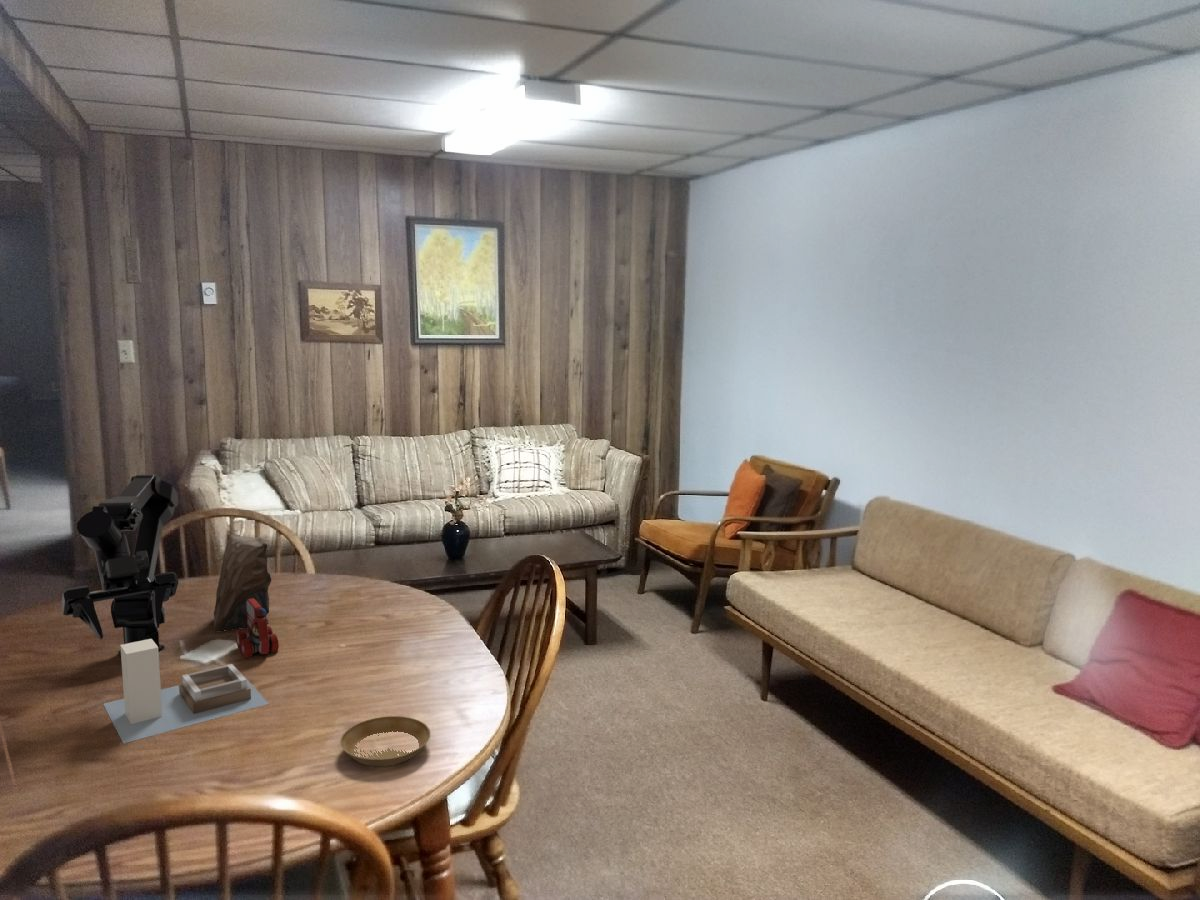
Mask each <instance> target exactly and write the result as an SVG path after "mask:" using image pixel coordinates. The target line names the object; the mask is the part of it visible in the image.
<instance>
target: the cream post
mask: <svg viewBox="0 0 1200 900" xmlns="http://www.w3.org/2000/svg"><path fill="white" fill-rule="evenodd" d="M119 647H120V650H121V654H120V656H121V657H120V658H121V659H120V661H121V673H122V687H123V689H122V690H123V699H124V704H125V714H126V716H127V718H128V720H129V721H130V723H131V724H134V723H138V722H142V721H146V720H150V719H153V718H157V717H161V716H162V700H161V690H162V686H161V673H160V671H161V670H160V657H159V656H160V655H159V650H158V646H157V645H156V644H155V642H154V641H153V640H152V639H147V640H142V641H137V642H132V643H128V644H124V643H122V644H120V646H119Z"/></svg>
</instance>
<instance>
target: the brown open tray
mask: <svg viewBox="0 0 1200 900" xmlns="http://www.w3.org/2000/svg"><path fill="white" fill-rule="evenodd" d="M239 671H240V670H238V668H237V667H235V665H234V664H233V663H229V664H224V665H221V666H216V667H212V668H207V669H203V670H199V671H195V672H191V673H186V674H182V675H181V680H182V682H181V683H179V684H178V685H179V694H180V695H181V697H182V698H183V700H184V701H185V702H186V704H187V705H188V707H189V708H190V709H191V711H192V712H193V714H196V713H200V712H203V711H207V710H211V709H215V708H219V707H222V706H226V705H230V704H234V703H238V702H241V701H245V700H249V699H251V689H250V688H249V687H248V685H247V680H248V679H247V678H246V677H245V676H244V675H243V673H242V672H241V671H240V672H241V673H240V672H239ZM246 679H247V680H246Z"/></svg>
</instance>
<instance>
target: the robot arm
mask: <svg viewBox="0 0 1200 900" xmlns="http://www.w3.org/2000/svg"><path fill="white" fill-rule="evenodd" d="M178 503H179V494H178V492H177V490H176V488H175V487H174V485H173V484H171V483H169V482H166V481H164V480H163V479H161V478H160V476H159V475H155V474H136V475H134V476H131V479H130V482H129V484H127V485H126V487H125V488H124V489H123V490H122V491H121V492H120V493H119V494H118V495H117V496H116V497H114V498H108V499H105V500H103V501H102V502H100V503H99V504H97V505H93V506H92V510H91V511H89V512H86V513H85V514H84V515H82V516H81V518H80V519H79V520H78V521H77V523H76V531H77V532H78V534H79V535H80V536H81V537H82V539H83V541H85V544H87V545H88V548H90V549H92V550H93V551H94V554H95V555H94V556H95V561H96V564H97V569H98V574H99V578H100V579H99V580H100V583H101V588H102V589H100V590H92V591H90V587H89V586H88V585H87V584H86V585H79V586H75V587H74V586H73V587H68V588H67V587H66V588H65V589H64V590H63V592H62V597H61V609H62V614H63V616H72V618H74V619H76V618H77V619H78V618H79V620H81V621H82V622H84V624H86V625H87V626H88V627H89V628H90V629H91V630H92V632H93V633H94V635H96V637H97V638H98V639H99V640H100V641H101V640H103V639H104V635H103V628H102V626H101V623H100V621H99V617H98V615H97V612H96V609H95V604H94V603H95V602H100V601H107V600H112V599H113V600H112V601H111V605H110V614H111V619H112V623H113V628H114V629H119V628H122V634H123V644H128V643H132V642H137V641H142V640H147V639H152V640H153V641H154V642H155V644H156V645H157V646H158V651H161V650H163V649H164V648H165V649H166V647H165V644H160V636H159V635H160V633H159V630H158V629H160V625H161V624H165V623H166V618H165V617H166V613H165V607H164V606H163V603H164V602H169V599H170V598H171V597H173V596H176V592H177V589H178V585H179V577H178V575H177V573H175V572H174V571H166V572H161V573H155V571H156V566H157V562H158V561H157V560H158V555H159V548H160V543H161V539H162V538H161V537H162V532H163V527H164V526H165V525H166V523H168V522H169V521H170V520H171V519H172V518H173V516H174V513H175V508H177V507H178V505H179V504H178ZM137 528H138V529H137ZM136 529H137V535H136V538H135V539H136V540H135V543H134V544H135V545H134V550H133V553H132V555H131V552H130V551H131V550H130V547H129V542H128V538H127V536H126V534H125V533H123V532H126V531H127V532H129V531H130V532H131V531H132V532H133V531H135V530H136ZM117 654H118V655H121V649H120V650H118V651H117Z"/></svg>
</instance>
